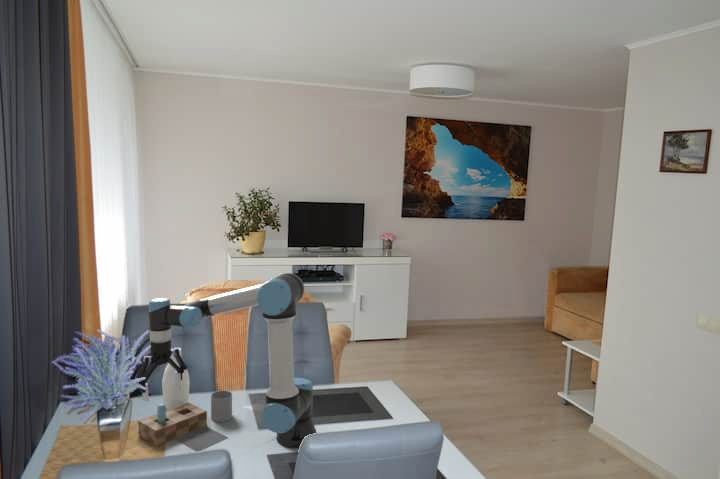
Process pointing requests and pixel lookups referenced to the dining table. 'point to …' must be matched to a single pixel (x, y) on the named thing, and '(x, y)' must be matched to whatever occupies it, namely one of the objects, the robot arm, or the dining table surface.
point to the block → (173, 423)
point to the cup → (221, 406)
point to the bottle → (168, 386)
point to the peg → (161, 413)
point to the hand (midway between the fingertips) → (162, 394)
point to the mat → (201, 439)
